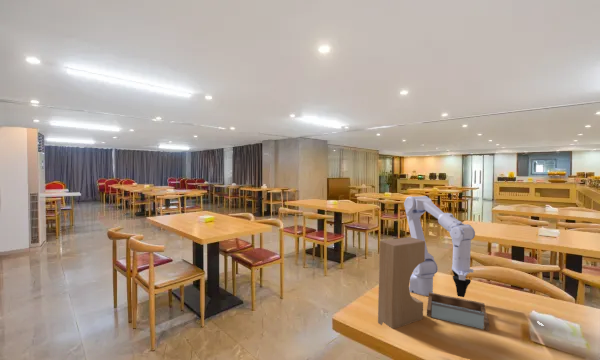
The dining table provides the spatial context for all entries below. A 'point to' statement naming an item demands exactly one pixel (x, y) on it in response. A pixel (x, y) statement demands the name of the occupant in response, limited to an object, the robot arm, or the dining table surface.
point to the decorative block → (399, 281)
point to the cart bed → (459, 303)
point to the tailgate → (458, 315)
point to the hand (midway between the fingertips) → (460, 292)
